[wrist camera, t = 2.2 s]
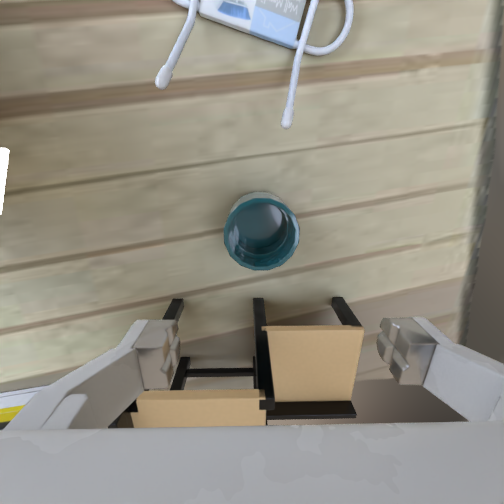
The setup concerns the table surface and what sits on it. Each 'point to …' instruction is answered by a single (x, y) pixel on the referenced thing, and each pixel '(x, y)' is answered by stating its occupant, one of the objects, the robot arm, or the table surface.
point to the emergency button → (14, 403)
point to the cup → (261, 231)
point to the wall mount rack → (259, 32)
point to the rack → (263, 378)
